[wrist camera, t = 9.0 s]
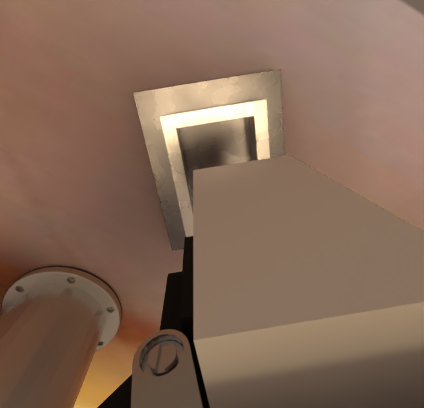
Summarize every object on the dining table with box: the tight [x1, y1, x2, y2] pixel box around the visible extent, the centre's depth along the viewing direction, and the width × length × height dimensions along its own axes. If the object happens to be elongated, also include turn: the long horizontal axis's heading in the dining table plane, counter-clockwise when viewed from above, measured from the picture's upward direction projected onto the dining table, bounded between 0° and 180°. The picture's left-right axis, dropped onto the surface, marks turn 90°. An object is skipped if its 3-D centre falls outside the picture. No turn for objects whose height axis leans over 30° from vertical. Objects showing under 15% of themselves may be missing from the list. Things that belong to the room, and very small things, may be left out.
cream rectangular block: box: [193, 155, 424, 408], centre depth 8 cm, size 7×4×8 cm, turn 8°
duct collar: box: [133, 69, 284, 251], centre depth 22 cm, size 12×15×4 cm
